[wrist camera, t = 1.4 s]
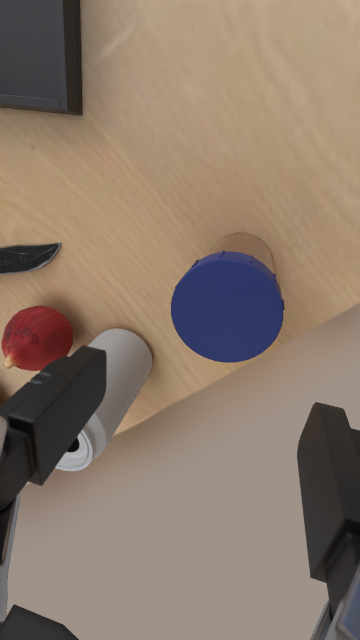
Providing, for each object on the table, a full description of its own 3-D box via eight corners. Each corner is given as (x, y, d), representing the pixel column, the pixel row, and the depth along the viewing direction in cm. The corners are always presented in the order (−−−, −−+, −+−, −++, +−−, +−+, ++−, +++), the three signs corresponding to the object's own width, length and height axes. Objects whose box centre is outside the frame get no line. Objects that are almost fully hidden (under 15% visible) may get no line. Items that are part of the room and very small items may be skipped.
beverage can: (164, 374, 31) (112, 474, 21) (112, 383, 34) (41, 478, 23) (140, 318, 29) (69, 398, 19) (86, 332, 32) (-4, 410, 21)
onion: (28, 301, 32) (-39, 337, 25) (73, 289, 30) (13, 324, 23) (53, 350, 34) (-3, 395, 27) (96, 341, 32) (48, 388, 25)
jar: (280, 238, 23) (288, 273, 15) (264, 301, 26) (263, 362, 17) (212, 227, 24) (184, 255, 16) (203, 289, 27) (174, 342, 18)
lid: (294, 261, 16) (297, 271, 14) (267, 355, 19) (267, 373, 17) (185, 242, 17) (176, 250, 15) (174, 334, 20) (166, 349, 18)
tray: (77, -96, 19) (57, -125, 17) (82, 115, 23) (67, 110, 22) (-71, -93, 20) (-102, -118, 19) (-38, 103, 25) (-61, 97, 23)
